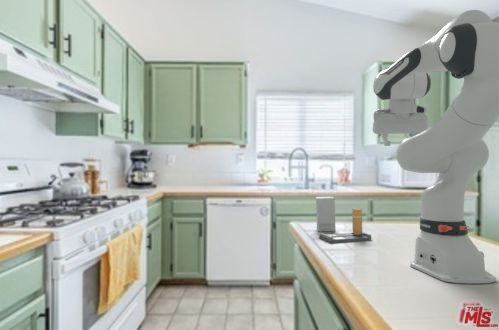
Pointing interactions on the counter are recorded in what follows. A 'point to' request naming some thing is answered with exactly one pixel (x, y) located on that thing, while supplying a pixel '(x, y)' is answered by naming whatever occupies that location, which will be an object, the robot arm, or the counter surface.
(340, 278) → the counter surface
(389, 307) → the counter surface
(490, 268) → the counter surface
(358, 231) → the tan tall block
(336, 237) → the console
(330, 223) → the skincare box
